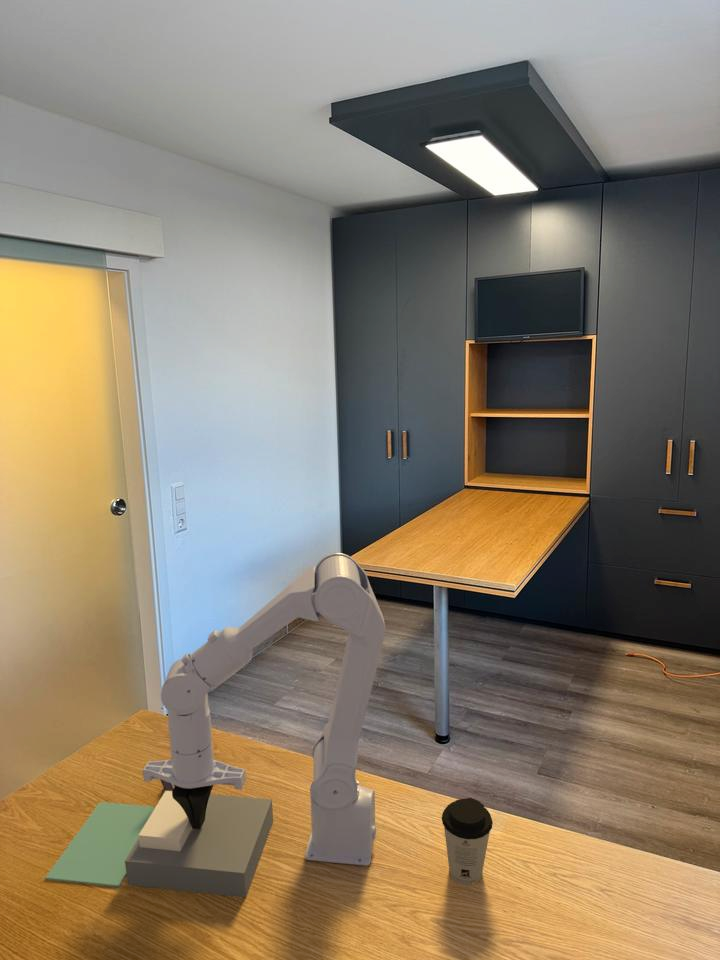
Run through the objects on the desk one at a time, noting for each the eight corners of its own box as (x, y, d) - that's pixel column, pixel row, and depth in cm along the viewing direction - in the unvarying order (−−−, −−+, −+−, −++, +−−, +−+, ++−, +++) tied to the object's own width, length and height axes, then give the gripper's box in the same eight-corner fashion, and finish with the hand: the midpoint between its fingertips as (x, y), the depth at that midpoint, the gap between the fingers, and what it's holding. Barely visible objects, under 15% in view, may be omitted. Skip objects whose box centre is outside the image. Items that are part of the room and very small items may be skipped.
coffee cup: (472, 901, 89) (474, 838, 86) (430, 872, 93) (431, 811, 91) (500, 870, 93) (503, 809, 91) (459, 843, 98) (461, 786, 96)
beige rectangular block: (203, 805, 101) (203, 794, 101) (180, 851, 93) (179, 839, 92) (166, 801, 102) (165, 790, 101) (139, 847, 93) (138, 835, 93)
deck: (273, 821, 103) (271, 799, 102) (246, 897, 90) (244, 873, 89) (169, 811, 105) (167, 790, 104) (127, 884, 92) (124, 860, 91)
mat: (164, 809, 106) (164, 807, 106) (119, 887, 92) (118, 885, 92) (100, 803, 108) (100, 801, 107) (45, 879, 93) (45, 877, 93)
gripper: (249, 728, 96) (254, 808, 99) (154, 721, 98) (162, 800, 101) (234, 760, 89) (240, 844, 93) (132, 752, 91) (141, 835, 95)
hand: (198, 823), depth 96 cm, fingers closed
